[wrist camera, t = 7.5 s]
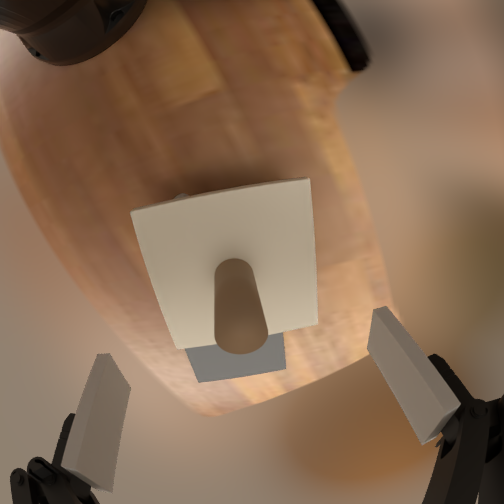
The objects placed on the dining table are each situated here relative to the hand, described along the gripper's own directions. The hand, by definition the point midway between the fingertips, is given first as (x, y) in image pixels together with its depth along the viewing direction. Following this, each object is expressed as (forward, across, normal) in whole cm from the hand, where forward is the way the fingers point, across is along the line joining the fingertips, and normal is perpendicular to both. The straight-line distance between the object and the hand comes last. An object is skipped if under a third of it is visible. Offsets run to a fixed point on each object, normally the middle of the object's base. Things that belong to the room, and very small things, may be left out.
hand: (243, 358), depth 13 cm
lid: (+10, 0, -1) cm, 11 cm away
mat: (+18, -2, -16) cm, 24 cm away
